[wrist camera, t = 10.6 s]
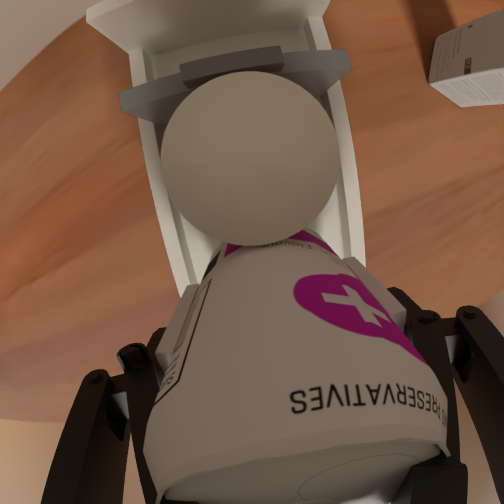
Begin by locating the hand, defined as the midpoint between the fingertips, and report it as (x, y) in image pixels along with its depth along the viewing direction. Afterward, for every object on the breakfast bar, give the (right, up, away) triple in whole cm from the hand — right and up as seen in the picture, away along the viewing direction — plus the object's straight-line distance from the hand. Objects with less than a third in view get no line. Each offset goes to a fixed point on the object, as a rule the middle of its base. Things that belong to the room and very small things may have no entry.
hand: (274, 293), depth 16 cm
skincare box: (+16, +18, +1) cm, 24 cm away
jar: (-1, +8, +2) cm, 9 cm away
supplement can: (0, +1, +2) cm, 2 cm away
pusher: (-2, +12, +1) cm, 12 cm away
